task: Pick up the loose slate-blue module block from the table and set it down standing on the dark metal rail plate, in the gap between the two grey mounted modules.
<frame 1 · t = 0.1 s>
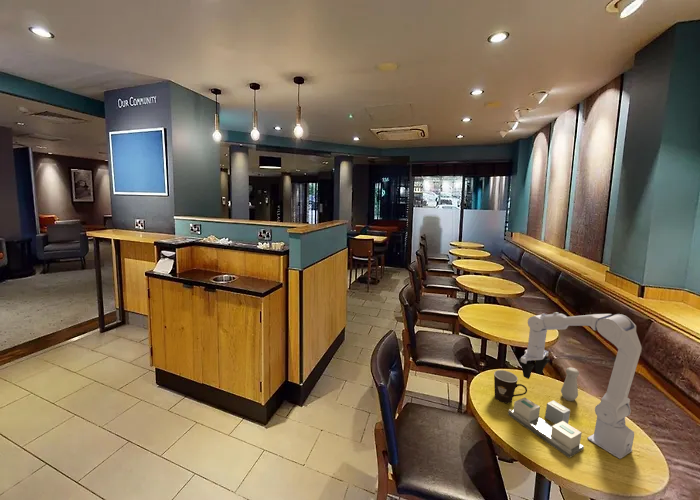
hand: (532, 375, 129), 10 cm above the table, fingers open, 7 cm apart
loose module: (556, 421, 117), on the table
coffee mug: (506, 400, 128), on the table
salt shaker: (568, 398, 131), on the table
module 2: (564, 444, 106), resting on rail
rail: (542, 430, 112), on the table
module 1: (525, 417, 118), resting on rail
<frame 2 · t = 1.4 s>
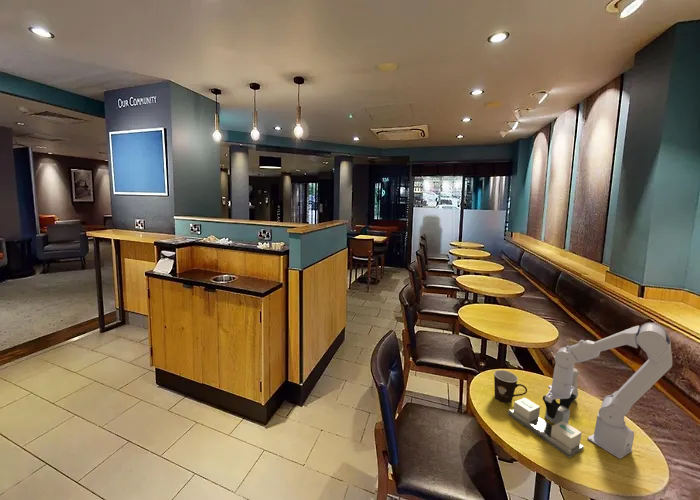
hand: (556, 413, 117), 3 cm above the table, fingers open, 7 cm apart
nothing on the table moved.
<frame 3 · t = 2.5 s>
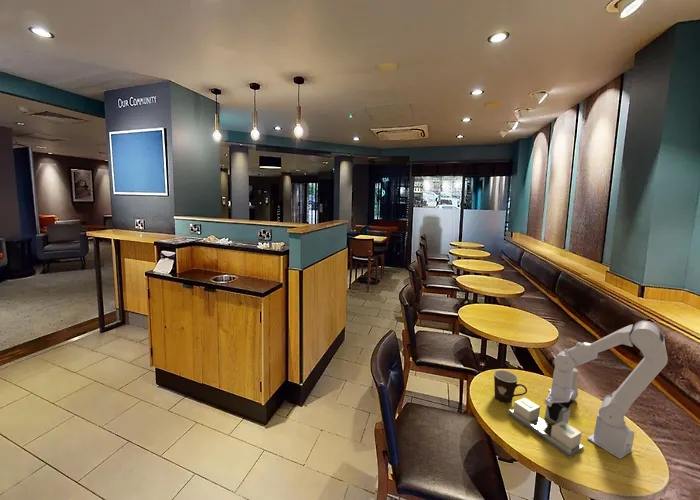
hand: (556, 417, 117), 1 cm above the table, fingers closed on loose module, 4 cm apart
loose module: (556, 420, 117), on the table, touching gripper
everything else where it was.
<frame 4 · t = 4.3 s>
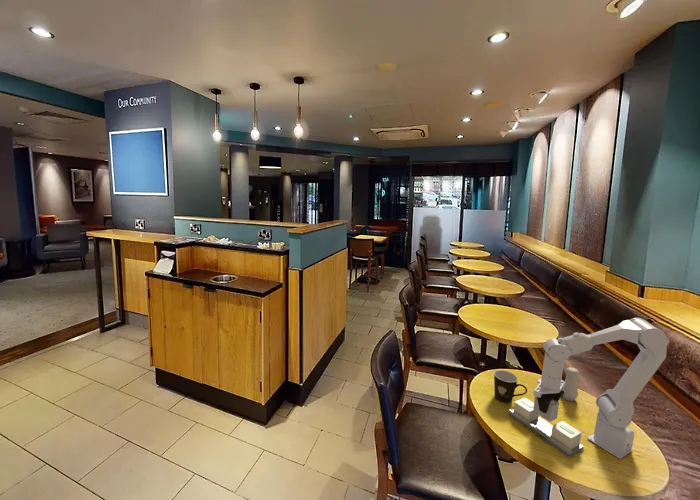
hand: (546, 409, 111), 8 cm above the table, fingers closed on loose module, 4 cm apart
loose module: (544, 414, 111), point 6 cm above the table, touching gripper
everything else where it was.
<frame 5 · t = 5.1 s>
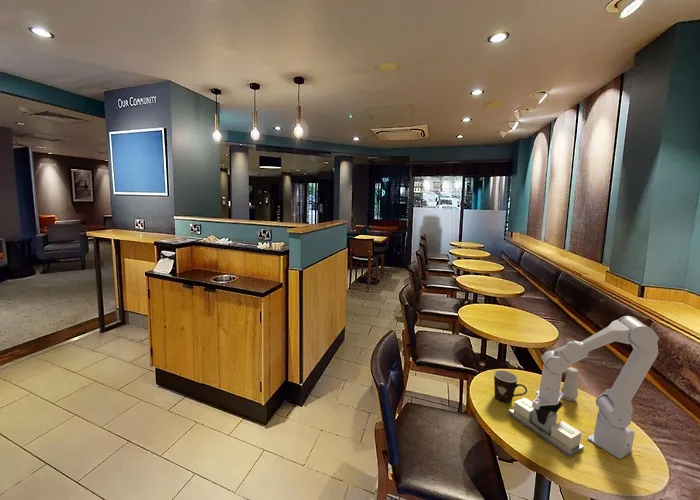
hand: (545, 420, 111), 4 cm above the table, fingers closed on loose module, 4 cm apart
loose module: (543, 425, 112), point 1 cm above the table, touching gripper
everything else where it was.
when the fingers open (4 cm above the table, at t = 5.8 s): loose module stays where it is, resting on rail.
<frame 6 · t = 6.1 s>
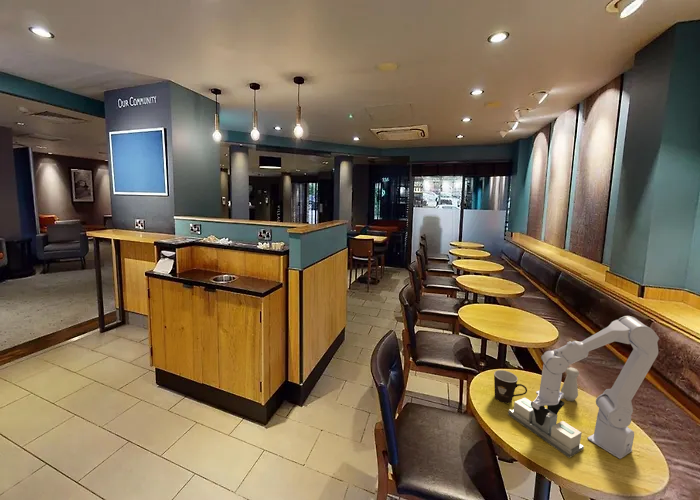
hand: (545, 420, 111), 4 cm above the table, fingers open, 6 cm apart
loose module: (543, 426, 112), point 1 cm above the table, touching rail
everything else where it was.
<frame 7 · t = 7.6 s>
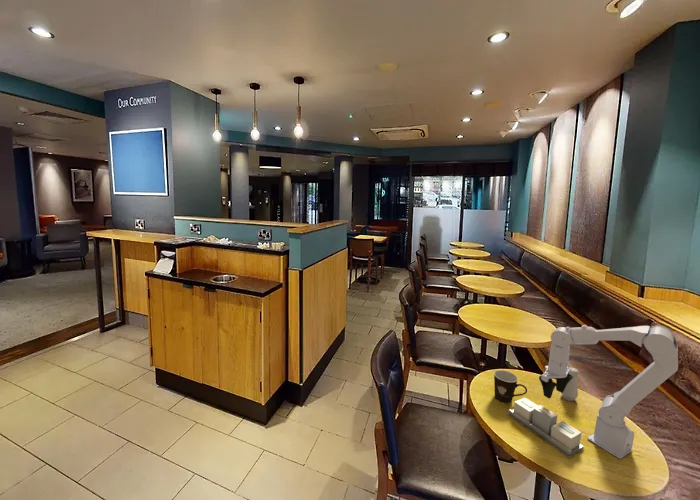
hand: (553, 394, 117), 10 cm above the table, fingers open, 7 cm apart
nothing on the table moved.
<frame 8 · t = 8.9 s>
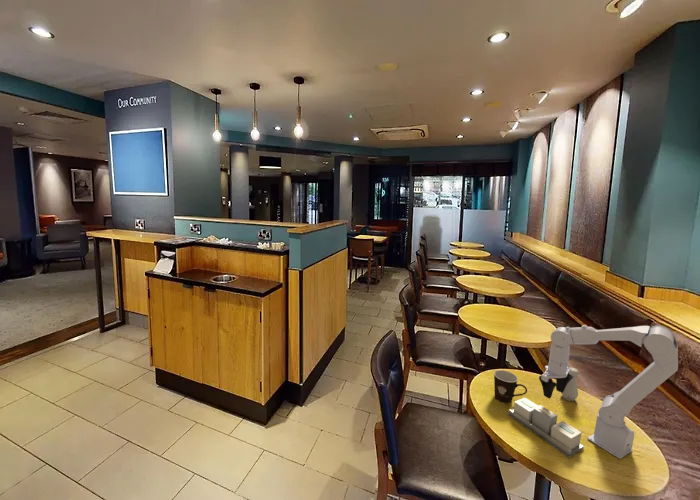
hand: (553, 394, 117), 10 cm above the table, fingers open, 7 cm apart
nothing on the table moved.
at the end: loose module 0.4 cm off-centre on the rail, point 1.2 cm above the rail's base; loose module tilted 0°; the gripper is holding nothing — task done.
